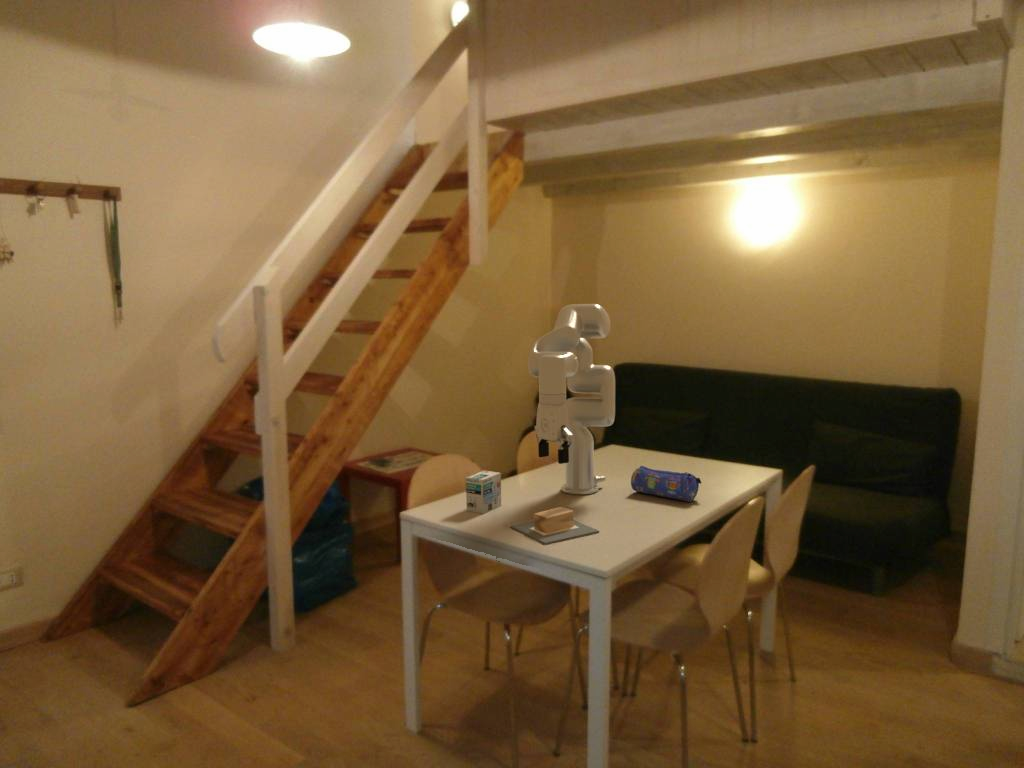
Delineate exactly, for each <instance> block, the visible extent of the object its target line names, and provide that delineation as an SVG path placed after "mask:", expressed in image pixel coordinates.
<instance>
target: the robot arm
mask: <svg viewBox="0 0 1024 768" xmlns="http://www.w3.org/2000/svg"><path fill="white" fill-rule="evenodd" d="M611 327H612V326H611V319H610V315H609V314H608V312H607V311H606V310H605V308H604V307H603V306H601V305H600V304H597V303H574V304H573V303H571V304H566V305H565V306H563V307H561V309H560V310H559V312H558V315H557V318H556V321H555V324H554V327H553V330H551V331H549V332H546V334H544V335H543V336H541V337H539V338H538V339H537V340H536V341H535V342H534V343H533V345H532V347H531V350H530V353H529V355H528V360H527V369H528V372H529V375H531V377H533V378H536V379H537V378H538V392H539V393H538V406H537V409H536V411H537V412H536V418H535V419H536V421H535V424H536V425H534V431H535V436H536V439H537V443H538V445H537V446H538V449H537V450H538V458H544V457H545V458H546V457H549V456H550V443H549V442H551V443H556V444H557V446H558V449H557V463H558V464H560V465H561V464H565V483H564V484H562V485H561V487H560V488H561V489H560V490H561V491H562V492H564V493H565V494H571V495H590V494H594V493H597V492H598V491H599V487H600V486H598V483H601V482H605V481H606V477H605V475H601V476H600V475H599V476H598V475H594V474H595V463H594V462H595V455H594V453H595V449H594V448H595V447H594V446H595V445H594V444H595V443H594V437H593V435H592V433H591V431H590V430H589V429H588V427H602V428H603V427H610V426H612V425H613V424H614V422H615V417H616V375H615V371H614V369H613V367H611V366H610V365H606V364H594V361H593V360H594V358H593V357H594V356H593V354H594V353H593V348H592V346H591V345H590V343H589V341H588V340H587V339H605V338H607V337H608V336H609V334H610V331H611ZM567 388H568V390H569V391H570V392H571V393H573V394H574V393H576V394H598V395H599V396H601V397H585V396H583V397H582V396H580V397H579V396H576V397H570V398H567ZM562 442H563V443H562Z"/></svg>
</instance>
